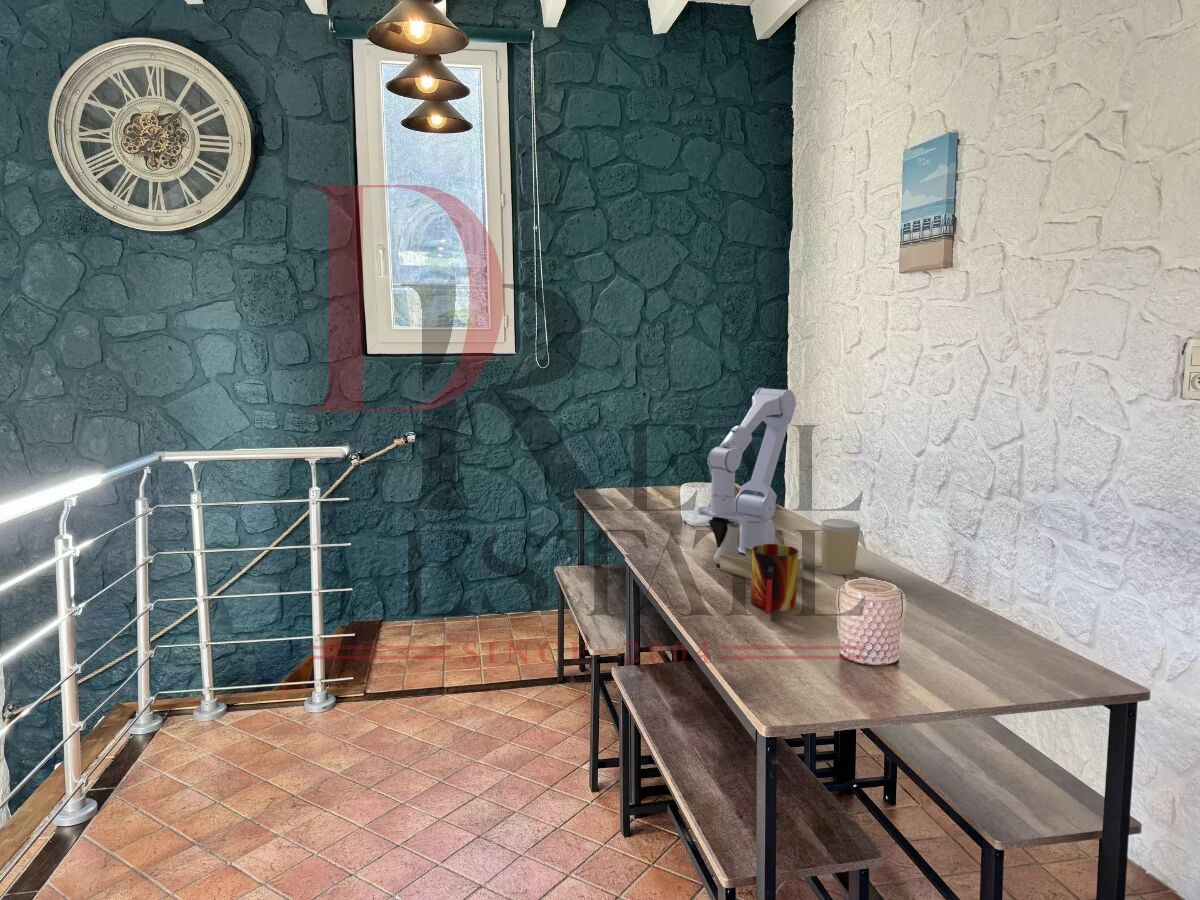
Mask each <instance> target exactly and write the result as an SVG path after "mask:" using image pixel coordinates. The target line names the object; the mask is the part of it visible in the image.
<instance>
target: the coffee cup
mask: <svg viewBox="0 0 1200 900" xmlns="http://www.w3.org/2000/svg"><path fill="white" fill-rule="evenodd" d="M860 531H861V526H860V523H859V522H856V521H854V520H851V519H850V520H849V519H844V518H827V519H824V520H822V521H821V523H820V543H821V544H820V545H821V550H820V551H821V570H822V571H823V572H825V573H827V574H832V575H837V576H838V575H839V576H848V575H852V574H854V572H855V568H856V560H857V554H858V553H857V552H858V545H859V540H860V539H859V537H860Z"/></svg>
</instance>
